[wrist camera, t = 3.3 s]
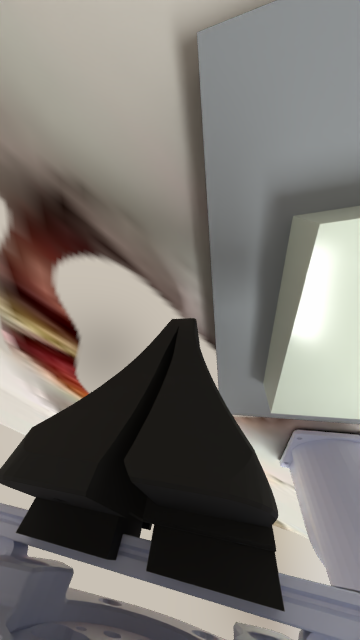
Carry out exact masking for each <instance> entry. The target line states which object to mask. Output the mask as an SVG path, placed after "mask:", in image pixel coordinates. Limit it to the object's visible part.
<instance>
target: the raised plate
mask: <svg viewBox="0 0 360 640" xmlns="http://www.w3.org/2000/svg"><path fill="white" fill-rule="evenodd" d="M197 42H198V58H199V75H200V91H201V108H202V124H203V140H204V157H205V173H206V190H207V206H208V222H209V239H210V255H211V271H212V288H213V304H214V321H215V337H216V353H217V370H218V386H219V393H220V395H221V396H222V398H223V400H224V402H225V404H226V406H227V407H228V409H229V411H230V412H231V414H232V415H243V416H257V417H270V418H284V419H297V420H311V421H324V422H338V423H351V424H360V419H347V418H332V417H318V416H303V415H289V414H275V413H271V412H270V408H269V404H268V401H267V397H266V393H265V389H264V385H263V382H264V376H265V370H266V365H267V359H268V354H269V348H270V342H271V337H272V331H273V325H274V320H275V314H276V309H277V303H278V297H279V292H280V286H281V281H282V275H283V269H284V264H285V258H286V252H287V247H288V241H289V236H290V230H291V224H292V219H293V216H296V215H302V214H309V213H315V212H322V211H328V210H335V209H341V208H348V207H354V206H360V0H276V1H273V2H271V3H268V4H266V5H264V6H261V7H259V8H256V9H254V10H251V11H249V12H246V13H244V14H241V15H239V16H236V17H234V18H231V19H229V20H226V21H224V22H221V23H219V24H216V25H214V26H211V27H209V28H207V29H204V30H202V31H199V32H197Z"/></svg>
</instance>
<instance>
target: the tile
mask: <svg viewBox="0 0 360 640" xmlns="http://www.w3.org/2000/svg"><path fill="white" fill-rule="evenodd" d="M263 385H264V389H265V393H266V397H267V401H268V404H269V408H270V412H271V413H275V414H289V415H303V416H318V417H332V418H347V419H360V206H354V207H348V208H341V209H335V210H328V211H322V212H315V213H309V214H302V215H296V216H293V219H292V224H291V230H290V236H289V241H288V247H287V252H286V258H285V264H284V269H283V275H282V281H281V286H280V292H279V297H278V303H277V309H276V314H275V320H274V325H273V331H272V337H271V342H270V348H269V354H268V359H267V365H266V370H265V376H264V382H263Z"/></svg>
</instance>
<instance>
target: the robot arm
mask: <svg viewBox="0 0 360 640" xmlns="http://www.w3.org/2000/svg"><path fill="white" fill-rule="evenodd" d="M280 466H282V467H287V468H289V469H290V472H291V476H292V479H293V483H294V487H295V490H296V494H297V498H298V501H299V505H300V509H301V512H302V516H303V520H304V523H305V527H306V530H307V534H308V537H309V540H310V542H311V544H312V546H313V548H314V550H315V552H316V554H317V556H318V557H319V559H320V560H321V562H322V563H323V565H324V566H325V567H326V570H327V574H328V577H329V580H330V584H331V586H329V585H324V584H321V583H317V582H313V581H309V580H305V579H301V578H297V577H293V576H289V575H285V574H281V573H278V569H277V563H276V557H275V551H276V546H275V540H274V534H273V529H272V525H273V523H274V522H275V521H276V520H277V518H278V510H277V506H276V502H275V499H274V496H273V493H272V490H271V488H270V485H269V482H268V480H267V478H266V475H265V473H264V471H263V469H262V466H261V464H260V462H259V460H258V458H257V455H256V453H255V450H254V449H253V447H252V446H251V444H250V442H249V441H248V439H247V438H246V436H245V435H244V433H243V432H242V430H241V429H240V427H239V425H238V424H237V422H236V421H235V419H234V417H233V416H232V414H231V412H230V411H229V409H228V407H227V406H226V404H225V402H224V400H223V398H222V396H221V395H220V393H219V391H218V389H217V387H216V386H215V383H214V381H213V379H212V377H211V375H210V373H209V371H208V368H207V366H206V363H205V361H204V358H203V356H202V353H201V350H200V345H199V336H198V329H197V321H196V319H194V318H187V319H172V320H171V321H170V322H169V323H168V324H167V326H166V327H165V328H164V329H163V330H162V331H161V333H160V334H159V335H158V336H157V337H156V338H155V339H154V340H153V342H152V343H151V344H150V345H149V346H148V347H147V348H146V349H145V350H144V351H143V352H142V353H141V354H140V355H139V356H138V357H137V358H136V359H134V360H133V361H132V362H131V363H130V364H129V365H128V366H126V367H125V368H124V369H123V370H122V371H120V372H119V373H118V374H116V375H115V376H114V377H112V378H111V379H110V380H108V381H107V382H106V383H104V384H103V385H102V386H101V387H99V388H97V389H96V390H94V391H93V392H91V393H90V394H88V395H87V396H85V397H84V398H82V399H81V400H79V401H77V402H76V403H74V404H73V405H71V406H69V407H68V408H66V409H64V410H62V411H61V412H59V413H57V414H55V415H54V416H52V417H50V418H48V419H47V420H45V421H43V422H41V423H39V424H38V425H36V426H34V427H32V428H31V430H30V431H29V432H28V434H27V435H26V436H25V438H24V439H23V440H22V442H21V443H20V444H19V445H18V447H17V448H16V449H15V451H14V452H13V453H12V454H11V456H10V457H9V458H8V460H7V461H6V462H5V464H4V465H3V466H2V467H1V469H0V483H1V484H3V485H5V486H8V487H10V488H13V489H16V490H18V491H21V492H24V493H26V494H29V495H31V496H34V497H36V498H35V500H34V502H33V503H32V505H31V507H30V509H29V510H26V509H22V508H18V507H14V506H10V505H6V504H2V503H0V640H225V639H223V638H221V637H218V636H216V635H214V634H211V633H209V632H207V631H204V630H202V629H199V628H197V627H195V626H192V625H190V624H188V623H185V622H183V621H180V620H177V619H175V618H172V617H169V616H167V615H164V614H161V613H158V612H154V611H151V610H148V609H145V608H142V607H139V606H135V605H132V604H128V603H125V602H121V601H117V600H114V599H109V598H106V597H102V596H99V595H95V594H91V593H87V592H84V591H80V590H76V589H72V588H69V584H70V581H71V578H72V576H73V568H71V567H69V566H68V565H66V564H64V563H62V562H59V561H55V560H50V559H43V558H36V557H28V556H27V550H28V545H29V546H33V547H36V548H39V549H42V550H46V551H49V552H53V553H56V554H59V555H62V556H65V557H68V558H72V559H75V560H78V561H82V562H85V563H88V564H91V565H94V566H98V567H101V568H104V569H107V570H111V571H114V572H117V573H120V574H124V575H127V576H130V577H134V578H137V579H140V580H143V581H147V582H150V583H153V584H156V585H160V586H163V587H166V588H170V589H173V590H176V591H179V592H182V593H186V594H189V595H192V596H195V597H199V598H202V599H205V600H208V601H212V602H215V603H218V604H221V605H225V606H228V607H231V608H234V609H238V610H241V611H244V612H247V613H251V614H254V615H257V616H260V617H264V618H267V619H270V620H273V621H277V622H280V623H283V624H287V625H290V626H293V627H296V628H300V629H302V630H301V631H300V633H299V639H298V640H360V435H355V434H344V433H332V432H320V431H308V430H295V431H294V432H293V434H292V436H291V438H290V440H289V442H288V445H287V447H286V449H285V451H284V453H283V456H282V458H281V460H280ZM152 524H154V529H153V535H152V540H151V541H150V540H146V539H142V538H140V533H141V528H143V529H148V530H151V526H152ZM234 640H292V639H291V638H289V637H288V636H286V635H283V634H281V633H279V632H276V631H273V630H269V629H266V628H261V627H256V626H252V625H247V624H242V623H238V622H236V623H235V625H234Z"/></svg>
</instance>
